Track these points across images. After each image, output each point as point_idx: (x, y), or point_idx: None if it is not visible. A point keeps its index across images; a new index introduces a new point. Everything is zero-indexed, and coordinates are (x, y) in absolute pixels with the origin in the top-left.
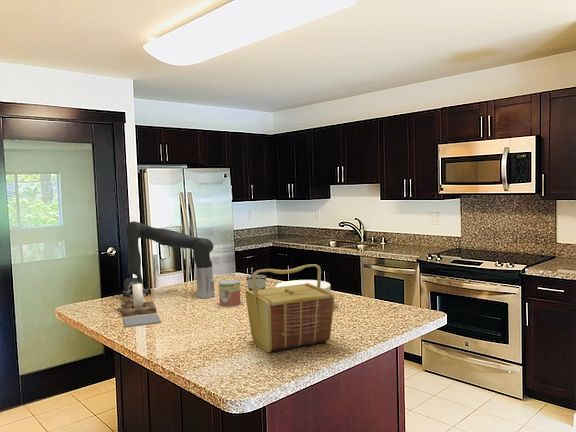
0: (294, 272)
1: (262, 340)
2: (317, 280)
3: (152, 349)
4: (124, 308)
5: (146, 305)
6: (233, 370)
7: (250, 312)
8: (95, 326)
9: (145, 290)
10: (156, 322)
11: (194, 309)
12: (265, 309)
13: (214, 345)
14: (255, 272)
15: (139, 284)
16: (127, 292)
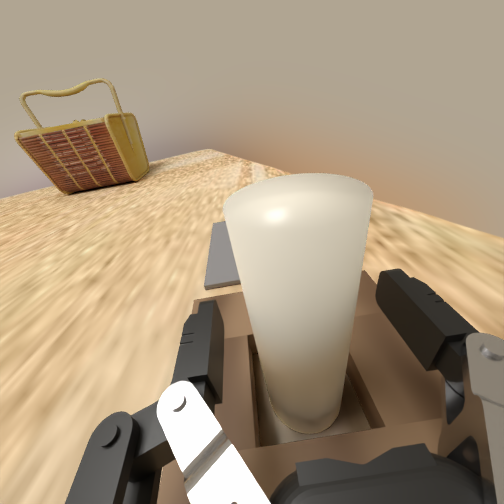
0: (59, 96)
1: (141, 166)
2: (35, 118)
3: (245, 168)
4: (402, 340)
5: (239, 381)
6: (190, 159)
7: (120, 147)
8: (410, 218)
9: (196, 388)
10: (225, 222)
11: (40, 326)
12: (133, 124)
13: (178, 176)
14: (107, 80)
15: (260, 191)
16: (476, 334)
